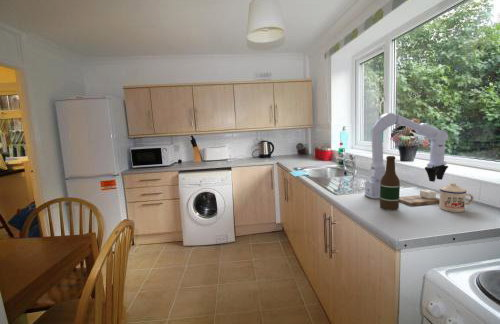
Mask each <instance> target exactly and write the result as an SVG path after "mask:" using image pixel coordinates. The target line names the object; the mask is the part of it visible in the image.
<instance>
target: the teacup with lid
mask: <svg viewBox="0 0 500 324" xmlns="http://www.w3.org/2000/svg"><path fill="white" fill-rule="evenodd" d="M466 196H469V197H470V200H469V201H468V202H466ZM439 198H440V202H439V203H438V205H439V206H438V207H439V209H441V210H443V211H446V212H453V213H462V212H464V211H465V209H466V207H465V206H468V205H471V204H472V203H473V202H474V200H475V199H474V195H473V194H471V193H468V192H467V190H466V189H465V188H463V187H460V186H458V185H457V184H456V183H455V182H450V184H448V185H444V186H441V187H440V188H439Z"/></svg>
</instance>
